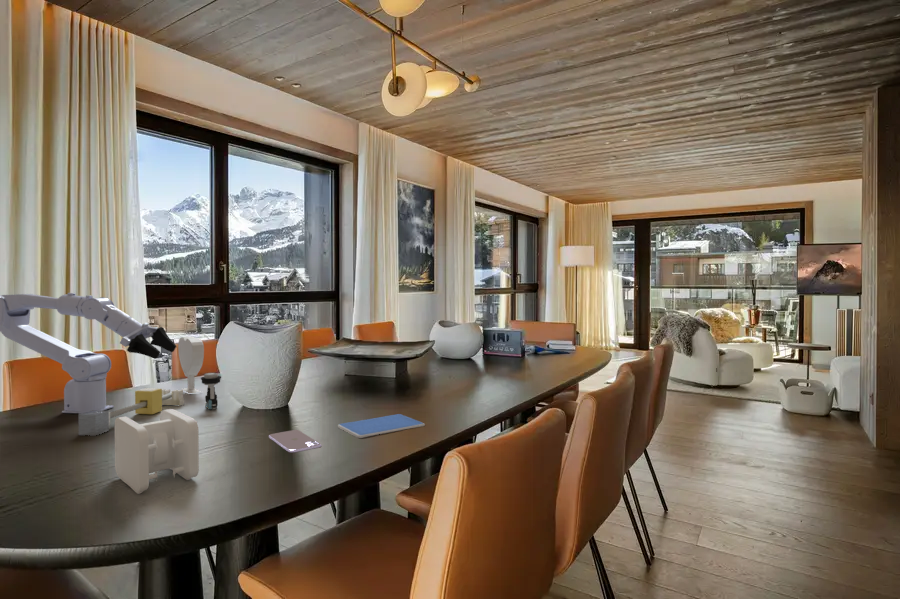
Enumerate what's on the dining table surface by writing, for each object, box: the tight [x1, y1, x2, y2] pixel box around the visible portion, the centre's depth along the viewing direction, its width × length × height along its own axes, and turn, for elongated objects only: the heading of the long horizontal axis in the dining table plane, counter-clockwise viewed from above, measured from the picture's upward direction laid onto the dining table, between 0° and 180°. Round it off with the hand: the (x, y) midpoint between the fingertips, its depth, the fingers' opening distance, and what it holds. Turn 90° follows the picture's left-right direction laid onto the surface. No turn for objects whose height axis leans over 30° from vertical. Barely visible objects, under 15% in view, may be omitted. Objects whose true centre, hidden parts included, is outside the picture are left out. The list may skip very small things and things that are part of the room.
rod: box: [110, 391, 172, 419], centre depth 139 cm, size 1×27×1 cm, turn 174°
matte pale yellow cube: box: [134, 387, 163, 415], centre depth 142 cm, size 5×4×6 cm
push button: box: [200, 372, 222, 410], centre depth 148 cm, size 7×5×10 cm
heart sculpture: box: [177, 336, 205, 393], centre depth 171 cm, size 16×5×18 cm, turn 43°
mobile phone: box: [268, 429, 322, 453], centre depth 118 cm, size 8×1×15 cm
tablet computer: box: [337, 413, 426, 439], centre depth 132 cm, size 19×13×1 cm, turn 128°
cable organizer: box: [114, 408, 200, 495], centre depth 95 cm, size 15×11×12 cm
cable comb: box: [162, 388, 185, 407], centre depth 151 cm, size 7×2×4 cm, turn 84°
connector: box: [77, 410, 111, 437], centre depth 124 cm, size 4×5×5 cm
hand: (166, 352), depth 144 cm, fingers open, 7 cm apart
